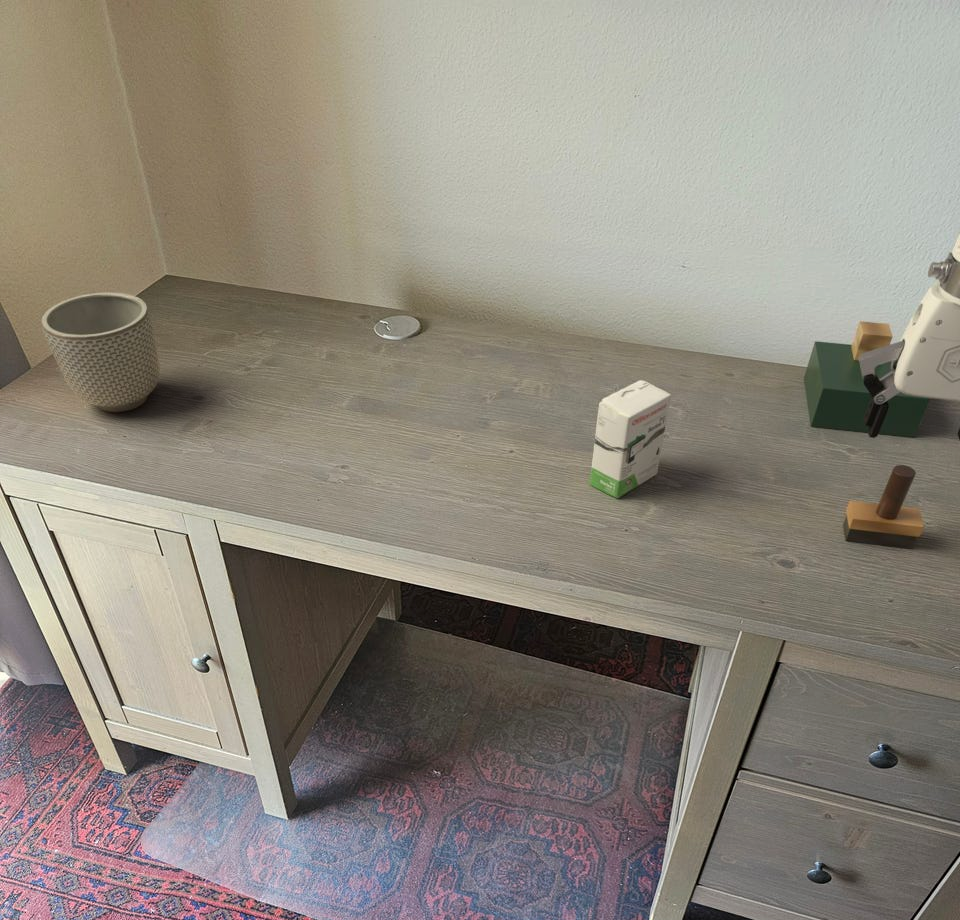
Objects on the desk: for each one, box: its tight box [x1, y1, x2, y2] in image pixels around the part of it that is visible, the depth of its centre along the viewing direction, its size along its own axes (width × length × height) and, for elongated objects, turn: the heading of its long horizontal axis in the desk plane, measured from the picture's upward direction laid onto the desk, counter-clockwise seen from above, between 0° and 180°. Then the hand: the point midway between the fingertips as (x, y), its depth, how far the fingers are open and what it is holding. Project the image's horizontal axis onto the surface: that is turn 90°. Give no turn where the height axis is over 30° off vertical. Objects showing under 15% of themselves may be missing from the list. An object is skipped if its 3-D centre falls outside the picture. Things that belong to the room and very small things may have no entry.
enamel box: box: [803, 341, 931, 438], centre depth 123 cm, size 14×14×6 cm
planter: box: [40, 291, 161, 413], centre depth 120 cm, size 14×14×13 cm
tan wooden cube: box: [851, 320, 893, 361], centre depth 122 cm, size 4×4×4 cm
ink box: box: [589, 379, 672, 499], centre depth 108 cm, size 9×5×12 cm, turn 134°
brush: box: [842, 464, 925, 550], centre depth 101 cm, size 8×4×10 cm, turn 79°
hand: (916, 436), depth 94 cm, fingers open, 9 cm apart
